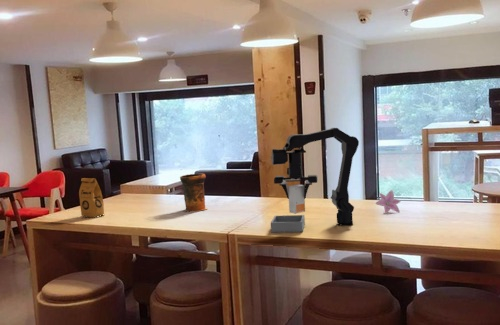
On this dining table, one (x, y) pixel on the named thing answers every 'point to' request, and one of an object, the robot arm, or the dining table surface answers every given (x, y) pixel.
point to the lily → (388, 202)
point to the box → (287, 223)
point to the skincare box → (296, 198)
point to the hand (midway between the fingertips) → (296, 198)
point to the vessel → (194, 192)
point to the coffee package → (91, 198)
